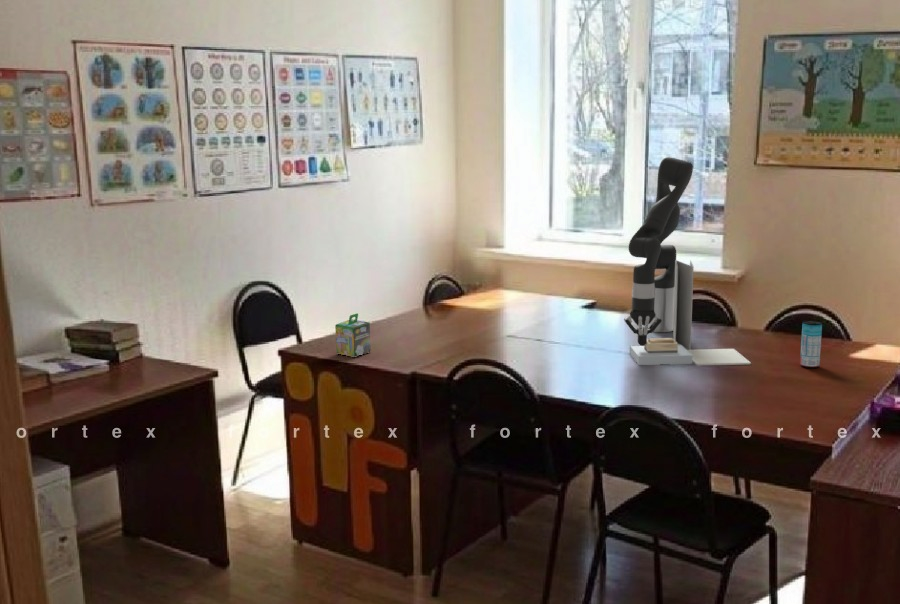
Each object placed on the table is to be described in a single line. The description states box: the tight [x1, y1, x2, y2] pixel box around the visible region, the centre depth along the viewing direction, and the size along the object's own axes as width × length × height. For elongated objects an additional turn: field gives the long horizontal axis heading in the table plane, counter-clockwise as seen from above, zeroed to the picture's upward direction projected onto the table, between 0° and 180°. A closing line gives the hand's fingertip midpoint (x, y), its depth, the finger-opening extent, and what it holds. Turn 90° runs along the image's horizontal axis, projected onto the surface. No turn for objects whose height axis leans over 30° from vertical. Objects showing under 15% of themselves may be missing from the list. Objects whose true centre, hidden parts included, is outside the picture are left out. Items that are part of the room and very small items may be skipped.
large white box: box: [629, 343, 693, 366], centre depth 303 cm, size 14×18×3 cm
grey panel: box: [672, 259, 694, 350], centre depth 317 cm, size 14×6×30 cm, turn 168°
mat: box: [686, 348, 752, 367], centre depth 303 cm, size 18×18×1 cm
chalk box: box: [334, 313, 371, 356], centre depth 317 cm, size 9×9×15 cm
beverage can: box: [799, 319, 823, 369], centre depth 288 cm, size 6×6×15 cm
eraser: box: [644, 337, 679, 353], centre depth 301 cm, size 6×10×4 cm, turn 90°
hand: (641, 345), depth 302 cm, fingers closed
